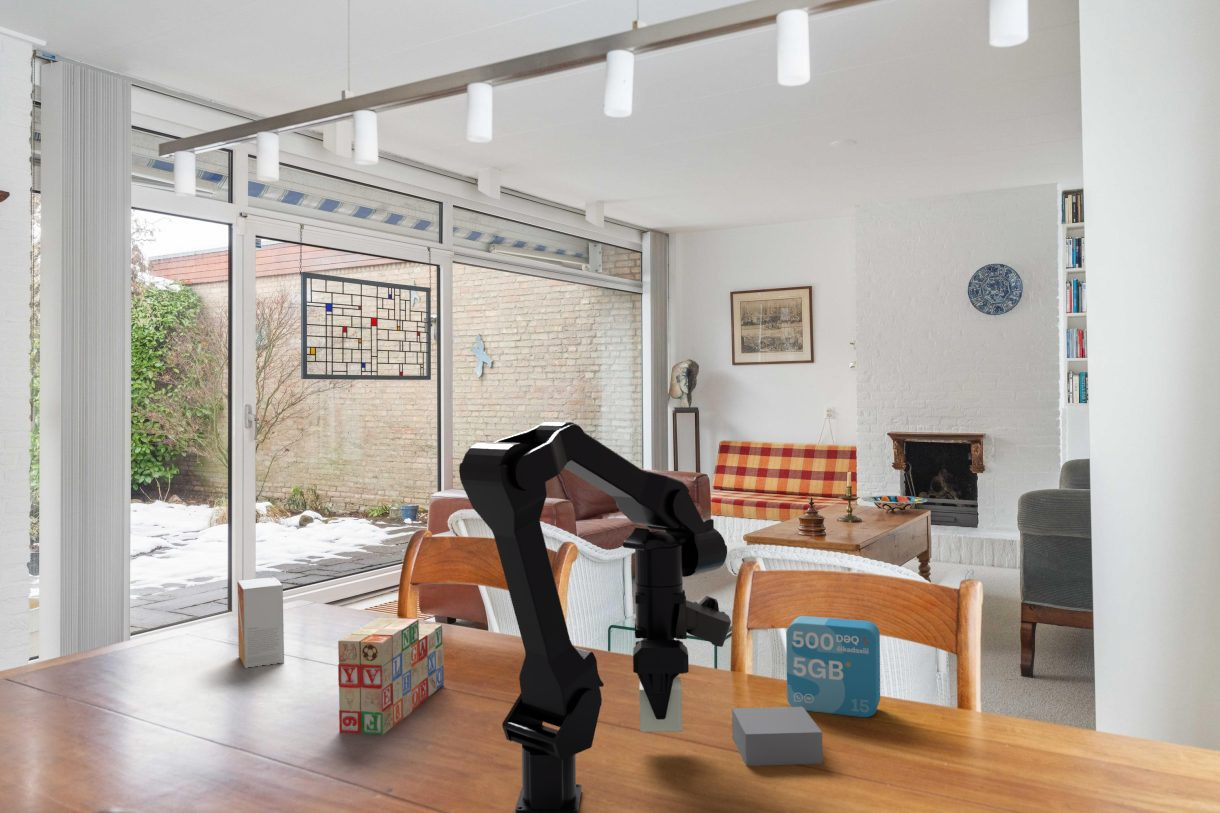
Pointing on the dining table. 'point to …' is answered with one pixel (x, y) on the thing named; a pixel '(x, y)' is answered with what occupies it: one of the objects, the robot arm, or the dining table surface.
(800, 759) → the gray square block
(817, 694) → the data package
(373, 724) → the stack of blocks
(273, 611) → the small box
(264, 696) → the dining table surface
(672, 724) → the sage cube
